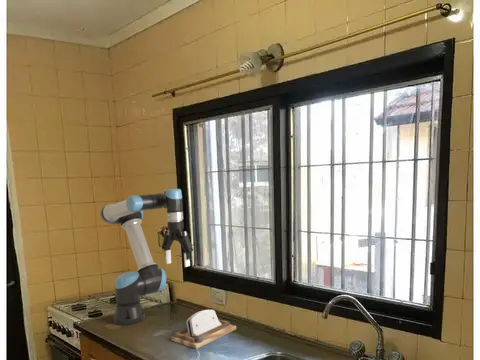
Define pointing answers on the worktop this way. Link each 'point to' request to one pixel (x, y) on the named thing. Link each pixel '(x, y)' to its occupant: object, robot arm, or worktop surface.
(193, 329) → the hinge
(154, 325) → the worktop surface
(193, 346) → the wooden tray
